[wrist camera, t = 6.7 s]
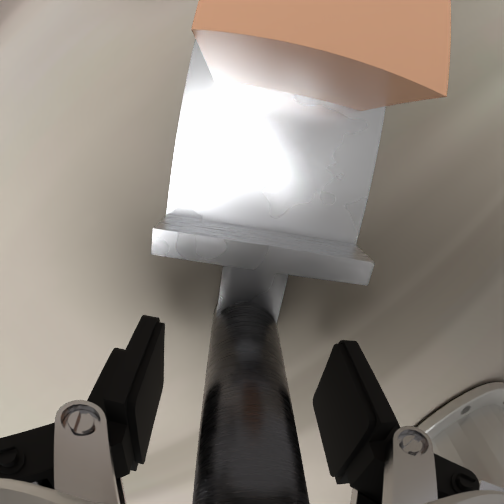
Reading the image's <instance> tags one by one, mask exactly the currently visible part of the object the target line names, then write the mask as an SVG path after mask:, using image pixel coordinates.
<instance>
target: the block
mask: <svg viewBox="0 0 504 504" xmlns="http://www.w3.org/2000/svg"><path fill="white" fill-rule="evenodd" d="M192 32H193V34H194V36H195V38H196V41H197V43H198V45H199V47H200V50H201V52H202V54H203V56H204V59H205V61H206V63H207V66H208V68H209V70H210V73H211V75H212V77H213V80H214V81H222V82H229V83H236V84H243V85H249V86H255V87H261V88H267V89H272V90H277V91H282V92H287V93H292V94H297V95H301V96H306V97H310V98H314V99H318V100H322V101H326V102H330V103H334V104H338V105H341V106H345V107H348V108H352V109H355V110H359V111H364V110H369V109H374V108H379V107H385V106H390V105H396V104H401V103H407V102H413V101H420V100H426V99H433V98H441V97H447V89H448V78H449V64H450V43H451V2H450V0H199V2H198V5H197V9H196V13H195V17H194V21H193V25H192Z"/></svg>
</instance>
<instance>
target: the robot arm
mask: <svg viewBox="0 0 504 504" xmlns="http://www.w3.org/2000/svg"><path fill="white" fill-rule="evenodd" d="M164 335H165V324H164V323H161V322H160V320H159V318H157V317H151V316H146V315H143V316H142V317H141V319H140V321H139V323H138V325H137V327H136V329H135V331H134V333H133V335H132V338H131V340H130V342H129V344H128V346H127V348H126V350H124V349H119V348H114V349H113V351H112V353H111V354H110V356H109V358H108V360H107V362H106V364H105V366H104V368H103V370H102V372H101V374H100V376H99V378H98V380H97V382H96V384H95V386H94V388H93V390H92V392H91V394H90V396H89V398H88V400H87V401H84V400H75V401H71V402H68V403H66V404H64V405H63V406H61V407H60V409H59V410H58V411H57V413H56V417H55V423H52V424H49V425H45V426H42V427H39V428H35V429H32V430H29V431H25V432H22V433H18V434H14V435H11V436H7V437H3V438H0V504H127V503H126V498H125V493H124V488H123V483H122V477H123V476H126V475H128V474H129V473H130V470H133V471H136V470H137V466H138V463H140V464H144V462H145V458H146V453H147V449H148V445H149V441H150V437H151V433H152V428H153V424H154V420H155V416H156V412H157V409H158V405H159V401H160V397H161V393H162V389H163V382H164ZM313 407H314V411H315V415H316V419H317V423H318V427H319V431H320V435H321V439H322V443H323V447H324V451H325V455H326V459H327V463H328V467H329V471H330V475H331V476H332V477H335V479H336V483H337V484H346V483H350V486H351V487H352V488H353V489H352V495H351V502H350V504H504V383H502V382H493V383H488V384H485V385H482V386H479V387H476V388H474V389H472V390H470V391H468V392H466V393H464V394H463V395H461V396H459V397H458V398H456V399H454V400H453V401H451V402H449V403H448V404H446V405H445V406H444V407H442V408H441V409H439V410H438V411H436V412H435V413H434V414H432V415H431V416H430V417H428V418H427V419H426V420H425V421H423V422H422V423H421V424H420V425H419V426H417V427H413V426H404V427H401V428H400V426H399V424H398V421H397V419H396V417H395V415H394V413H393V411H392V409H391V407H390V405H389V403H388V401H387V399H386V397H385V395H384V393H383V391H382V389H381V387H380V385H379V383H378V381H377V379H376V377H375V375H374V373H373V371H372V369H371V367H370V365H369V364H368V362H367V360H366V358H365V356H364V354H363V352H362V350H361V348H360V346H359V345H358V343H357V342H356V341H347V340H341V341H340V342H339V343H338V344H335V345H334V346H333V349H332V352H331V354H330V357H329V359H328V362H327V365H326V367H325V370H324V372H323V375H322V377H321V380H320V382H319V385H318V387H317V390H316V392H315V394H314V397H313Z"/></svg>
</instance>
